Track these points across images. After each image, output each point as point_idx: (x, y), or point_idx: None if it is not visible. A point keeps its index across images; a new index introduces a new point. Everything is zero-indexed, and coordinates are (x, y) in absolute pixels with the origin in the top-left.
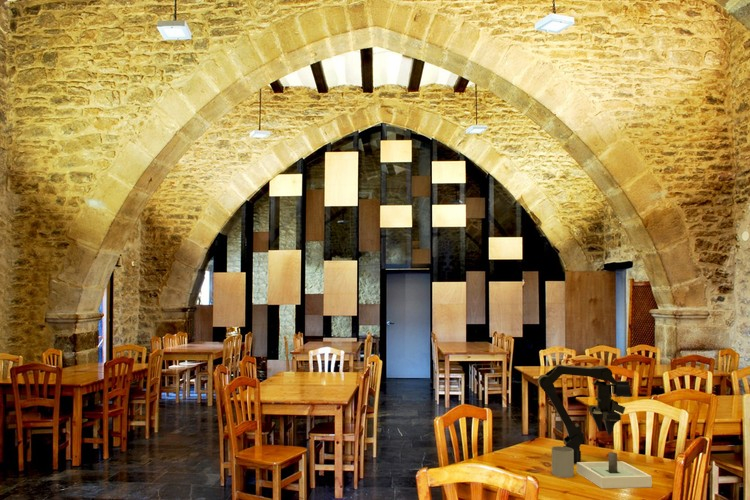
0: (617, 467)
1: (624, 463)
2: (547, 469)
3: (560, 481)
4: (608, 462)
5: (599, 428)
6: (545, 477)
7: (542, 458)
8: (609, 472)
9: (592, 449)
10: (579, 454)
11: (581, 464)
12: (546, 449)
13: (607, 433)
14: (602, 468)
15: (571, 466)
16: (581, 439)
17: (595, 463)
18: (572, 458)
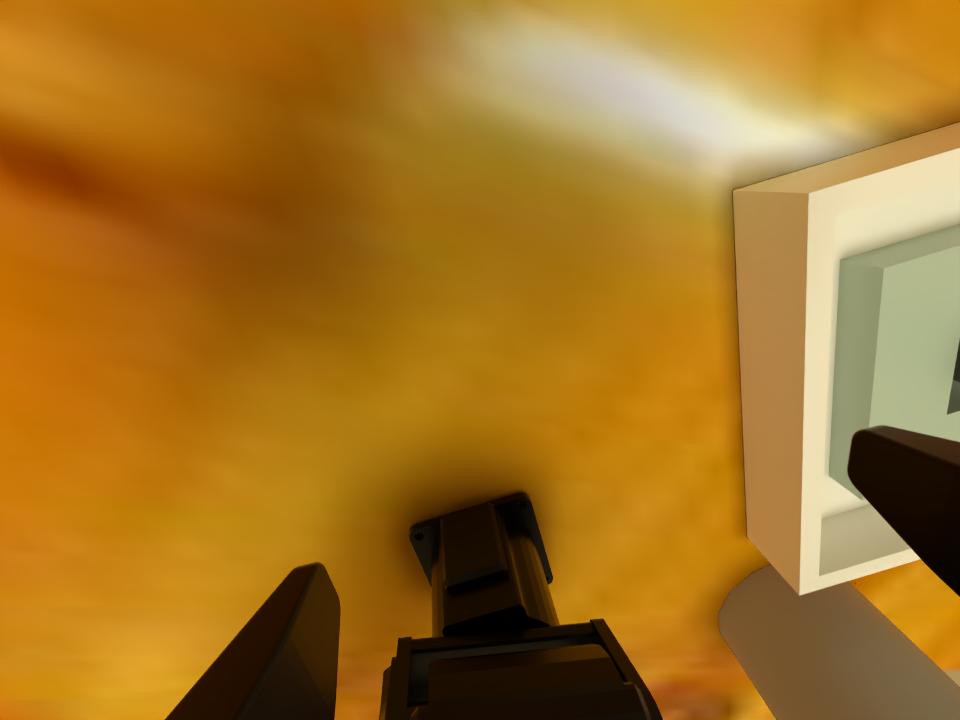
0: (900, 288)
1: (889, 198)
2: (682, 667)
3: (896, 616)
4: (826, 362)
5: (323, 637)
6: None
7: None
8: None
9: None
10: (510, 553)
11: (856, 571)
12: (151, 682)
13: (885, 518)
14: (900, 423)
15: (896, 627)
16: (656, 715)
17: (817, 470)
18: (951, 679)
